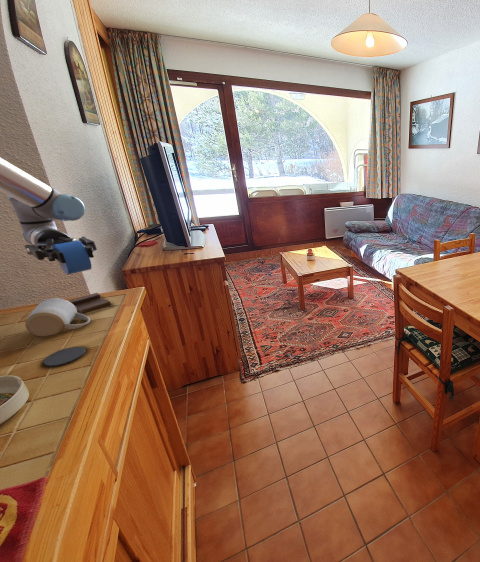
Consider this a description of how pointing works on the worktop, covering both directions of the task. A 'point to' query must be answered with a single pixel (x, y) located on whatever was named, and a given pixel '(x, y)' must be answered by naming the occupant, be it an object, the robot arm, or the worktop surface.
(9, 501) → the worktop surface
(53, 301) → the ceramic mug
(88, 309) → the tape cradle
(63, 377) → the worktop surface
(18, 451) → the worktop surface
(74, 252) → the tape roll
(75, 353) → the coaster
